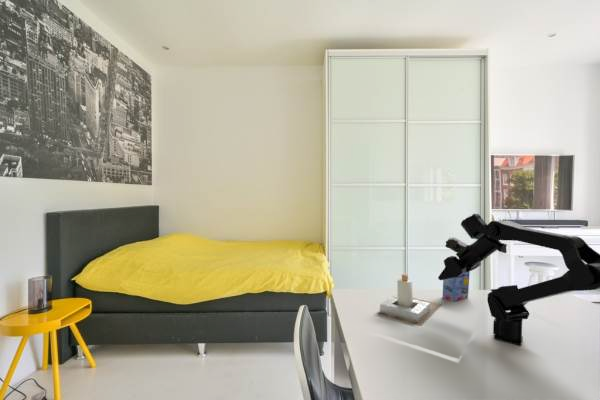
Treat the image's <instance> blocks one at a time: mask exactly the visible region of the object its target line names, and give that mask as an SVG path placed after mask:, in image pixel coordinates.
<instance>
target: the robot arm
mask: <svg viewBox="0 0 600 400" xmlns="http://www.w3.org/2000/svg"><path fill="white" fill-rule="evenodd" d="M460 226H461V227H462V228H463V230H464V231H465V232H466V234H467V235H468V236H469V238H470V239H471V240H472V239H473V240H474V239H475V241H474V242H473V243H471V244H467V243H465V242H463V241H462V240H460V239H458V238H456V237H453V236H452V237H449V238H448V239H447V240H446V241H445V248H448V249H450V250H452V251H453V252H455V255H456V256H455V255H451V256H448V257H446V258H445V259H444V260H443V264H444V269H443V270H442V271H441V273H440V274H439V275H438V277H437V279H438V280H439V281H443V280H444V279H449V278H454V277H458V276H460V275H462V274H464V273H465V272H468V271H470V272H471V271H474V270H475V269H477V268H479V267H480V266H481V265H482V261H485V260H486V259H488V257H490V256H491V255H492V254H493V253H495V252H497V251H498V252H499V253H502V254H506V253H507V246H508V244H507V243H502V242H501V241H513V242H515V241H517V242H521V243H526V244H531V245H534V246H539V247H541V248H548V249H553V250H557V251H558V252H559V253H560V254H561V255H562V259H563V261H564V264H565V267H566V269H568V270H567V271H566V272H565V273H563V274H562V275H560V276H558V277H555V278H552V279H549V280H548V279H547V280H545V281H541V282H537V283H535V284H532V285H531V284H530V285H528V286H524V287H520V288H519V287H518V285H517V284H512V285H502V286H499V287H497V288H493V289H492V288H491V289H490V292H488V294H487V301H486V302H487V305H488V309H489V312H490V316H491V317H493V326H492V327H493V328H492V330H493V333H492V334H493V335H494V337H493V338H494V339H495V340H499V341H503V342H505V343H509V344H515V345H517V346H522V344H523V339H524V338H523V320H527V319H528V318H529V316H530V312H529V310H528V309H527V307H526V305H527V304H529V302H534V301H537V300H543V299H546V298H550V297H551V298H552V297H554V296H559V295H563V294H567V293H571V292H580V291H595V290H600V253H598V252H597V251H596V250H595V249H593V248H592V247H590V245H588V244H587V242H585V240H584V239H583V238H582V237H580V236H578V235H567V234H560V233H557V232H556V233H555V232H550V231H545V230H539V229H533V228H528V227H526V226H523V225H522V224H520V223H518V222H517V223H516V222H514V221H511V220H492V221H491V220H490V221H489V223H487V222H485V220H484V219H483V218H482V216H481V215H480V214H479V213H473V214H472V215H469V216H467V217H466V218H465V219H462V221H461V223H460Z"/></svg>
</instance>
